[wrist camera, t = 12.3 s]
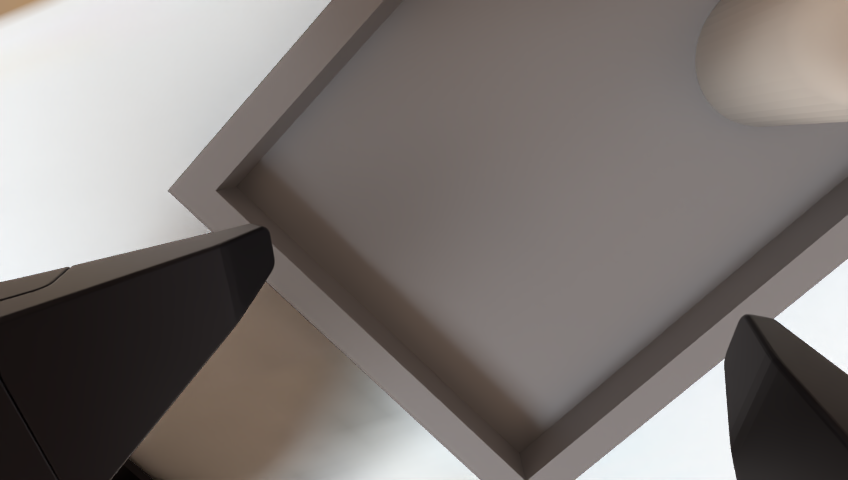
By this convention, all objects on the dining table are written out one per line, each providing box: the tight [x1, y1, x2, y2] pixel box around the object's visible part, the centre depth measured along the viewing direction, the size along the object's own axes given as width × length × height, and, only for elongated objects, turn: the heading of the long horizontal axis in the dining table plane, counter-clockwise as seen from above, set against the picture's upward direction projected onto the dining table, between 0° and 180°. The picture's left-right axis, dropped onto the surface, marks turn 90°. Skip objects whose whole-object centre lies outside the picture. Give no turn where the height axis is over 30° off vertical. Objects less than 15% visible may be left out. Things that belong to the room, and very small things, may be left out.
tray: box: [168, 0, 848, 480], centre depth 17 cm, size 24×18×2 cm
